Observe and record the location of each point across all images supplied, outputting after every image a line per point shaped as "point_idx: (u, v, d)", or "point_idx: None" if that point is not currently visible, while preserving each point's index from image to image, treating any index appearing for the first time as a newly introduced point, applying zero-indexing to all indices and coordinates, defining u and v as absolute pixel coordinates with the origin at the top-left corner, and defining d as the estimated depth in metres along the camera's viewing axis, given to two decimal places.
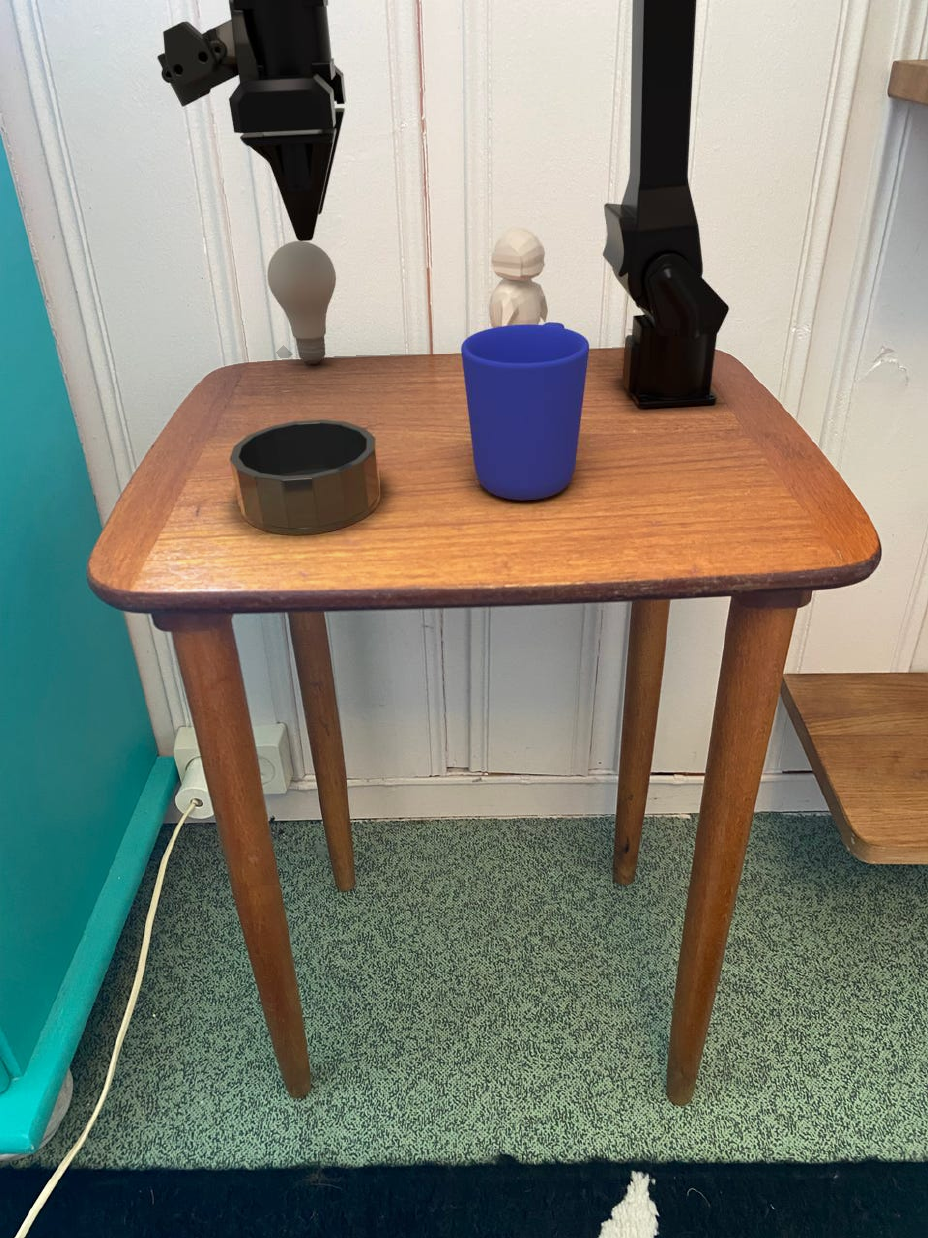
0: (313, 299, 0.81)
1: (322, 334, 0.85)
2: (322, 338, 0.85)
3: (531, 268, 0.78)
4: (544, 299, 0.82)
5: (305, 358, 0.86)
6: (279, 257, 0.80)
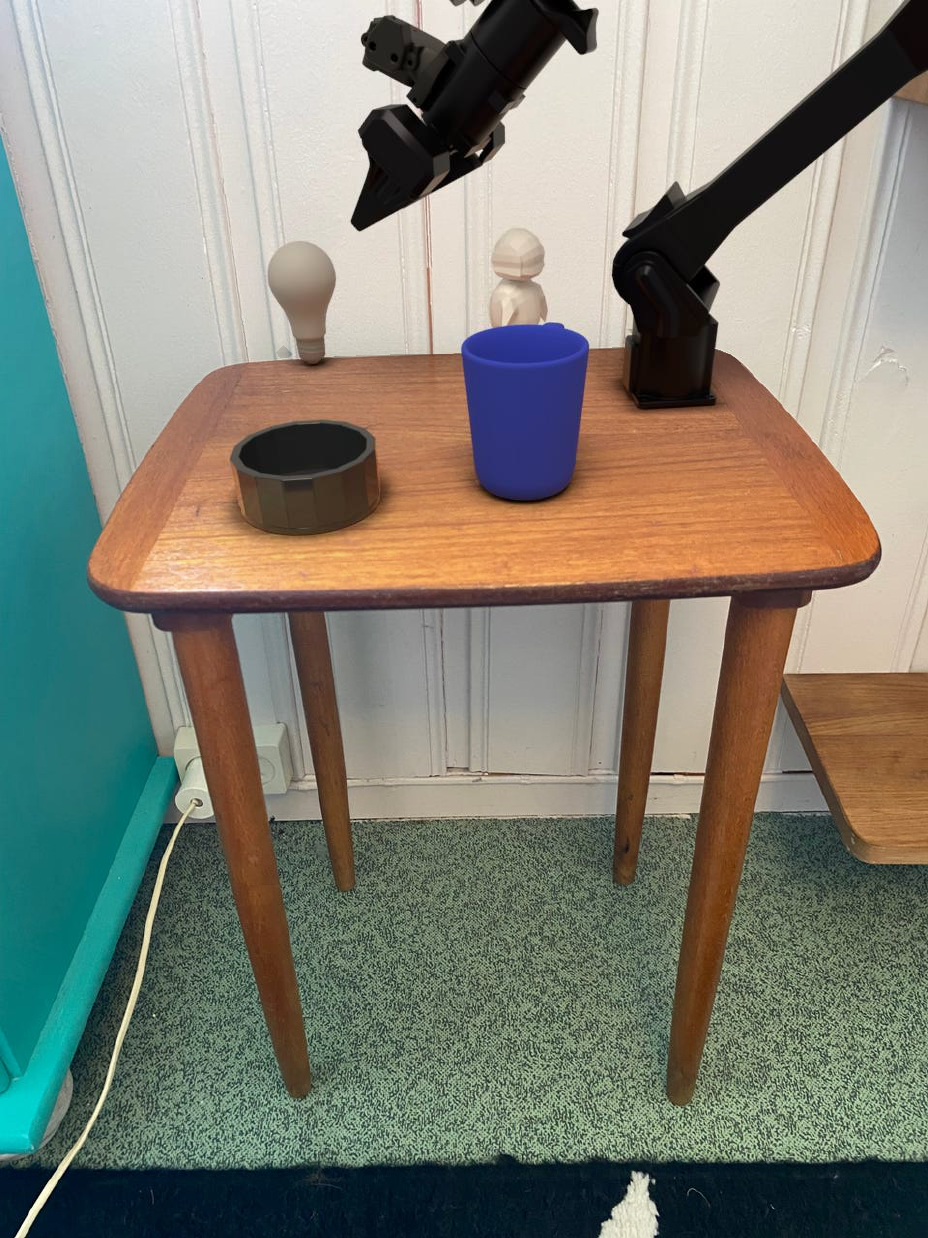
0: (313, 299, 0.81)
1: (322, 334, 0.85)
2: (322, 338, 0.85)
3: (531, 268, 0.78)
4: (544, 299, 0.82)
5: (305, 358, 0.86)
6: (279, 257, 0.80)
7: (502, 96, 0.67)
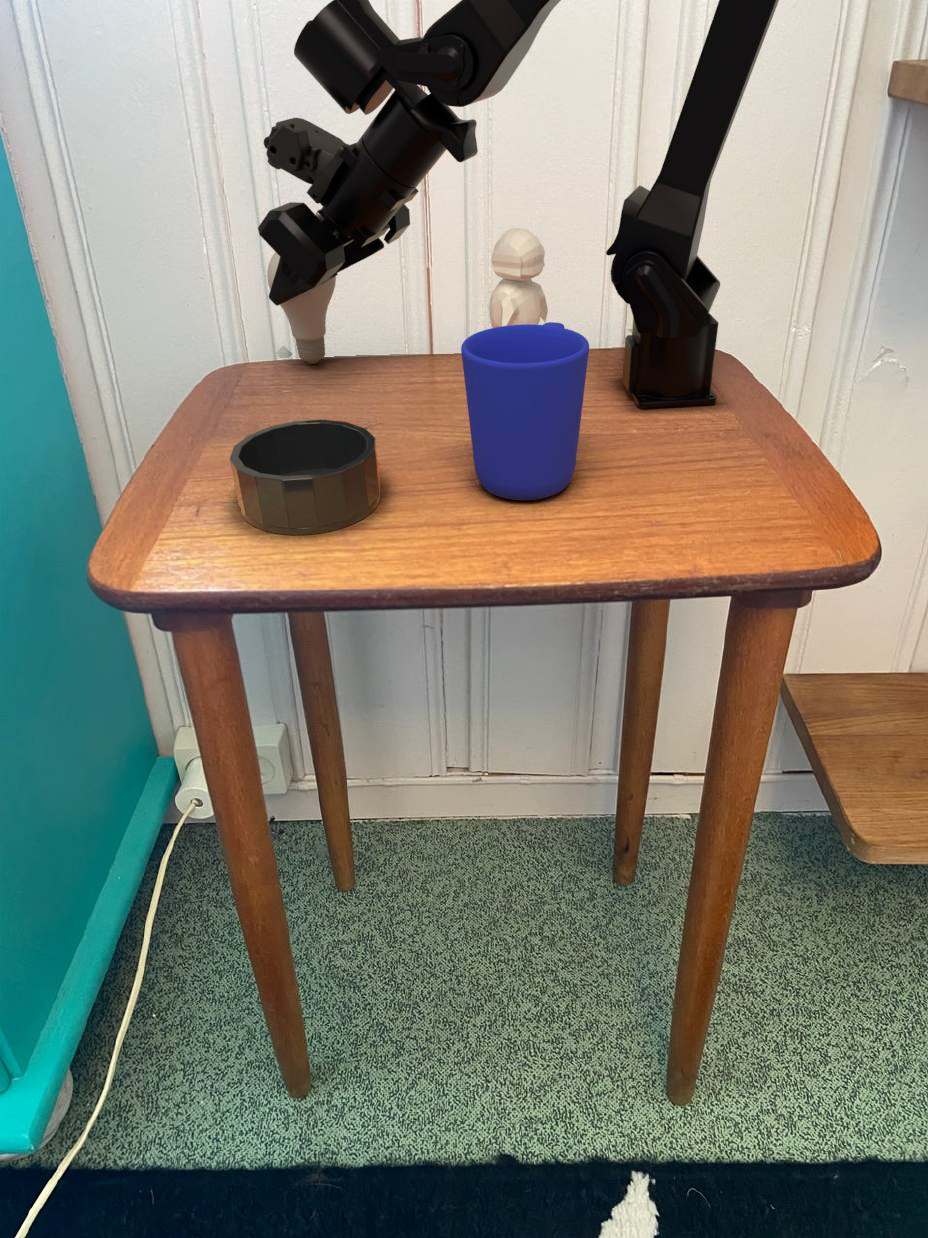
0: (313, 299, 0.81)
1: (322, 334, 0.85)
2: (322, 338, 0.85)
3: (531, 268, 0.78)
4: (544, 299, 0.82)
5: (305, 358, 0.86)
6: (278, 257, 0.80)
7: (391, 196, 0.73)
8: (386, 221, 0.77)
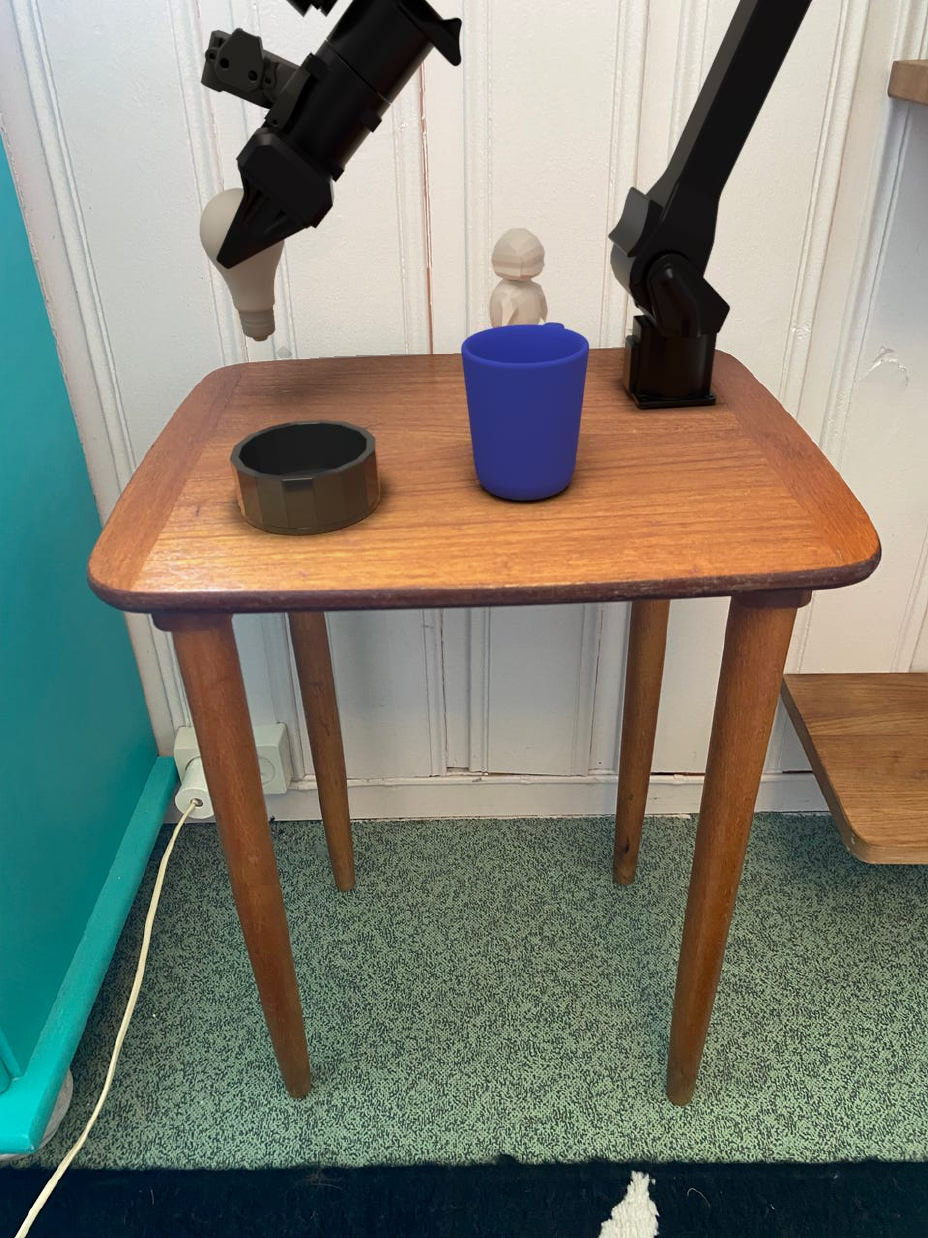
0: (269, 257, 0.66)
1: (274, 302, 0.70)
2: (272, 307, 0.70)
3: (531, 268, 0.78)
4: (544, 299, 0.82)
5: (256, 334, 0.70)
6: (221, 208, 0.64)
7: (375, 113, 0.62)
8: (356, 149, 0.64)
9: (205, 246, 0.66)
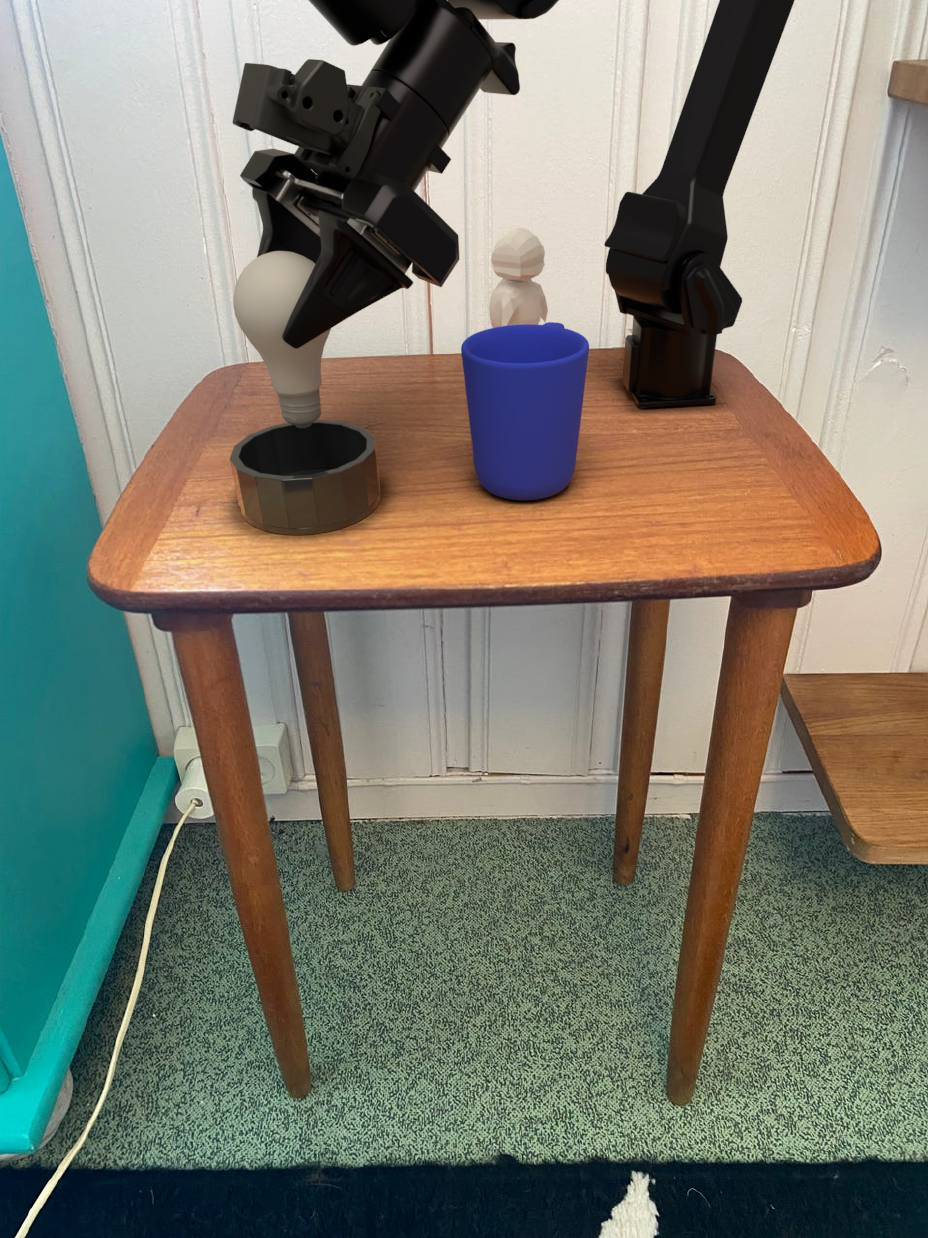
0: None
1: (320, 379, 0.59)
2: None
3: (531, 268, 0.78)
4: (544, 299, 0.82)
5: (309, 420, 0.59)
6: (278, 277, 0.53)
7: None
8: None
9: (256, 325, 0.54)
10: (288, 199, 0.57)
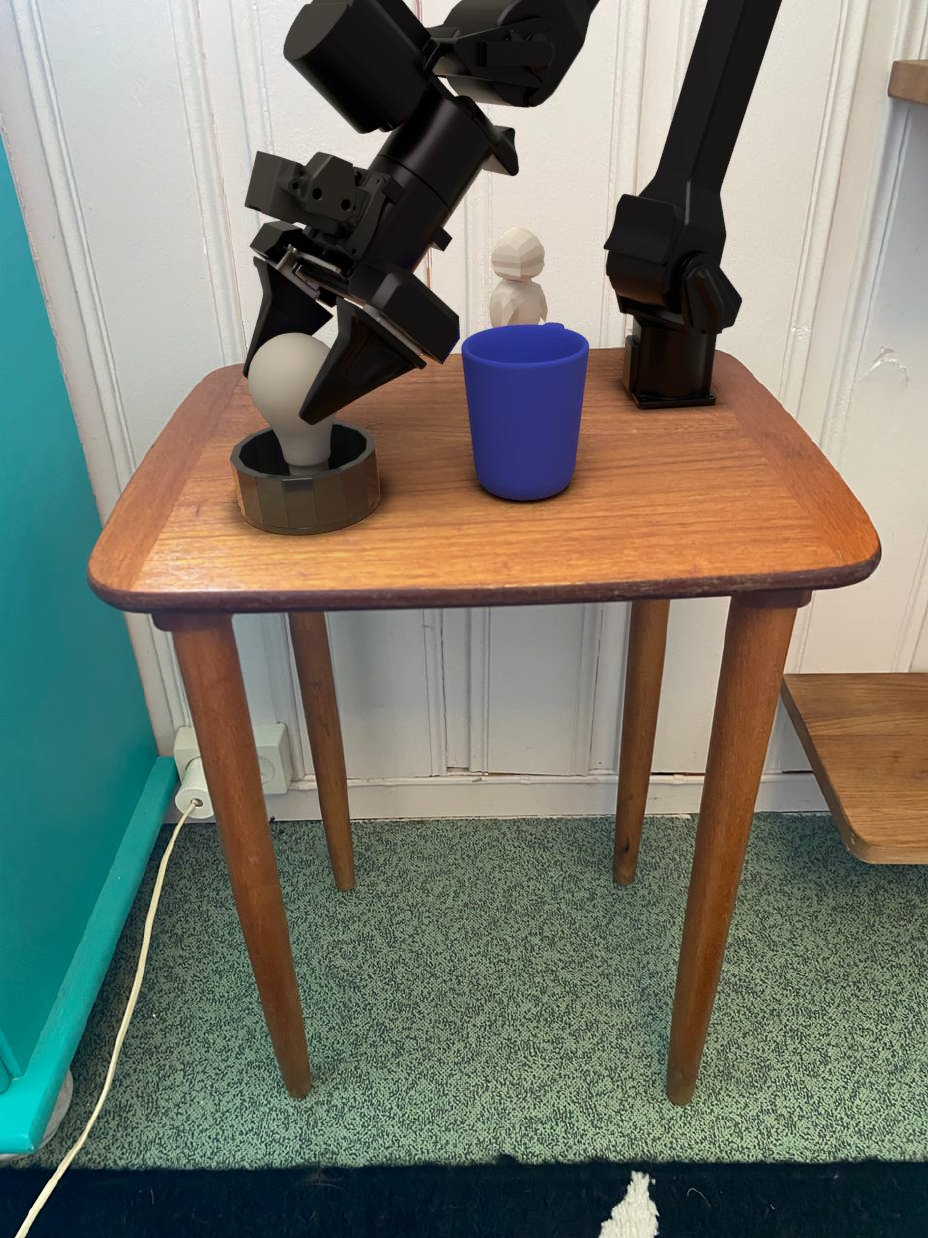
0: None
1: (329, 450, 0.62)
2: None
3: (531, 268, 0.78)
4: (544, 299, 0.82)
5: None
6: (291, 360, 0.55)
7: None
8: None
9: (270, 404, 0.56)
10: (287, 267, 0.60)
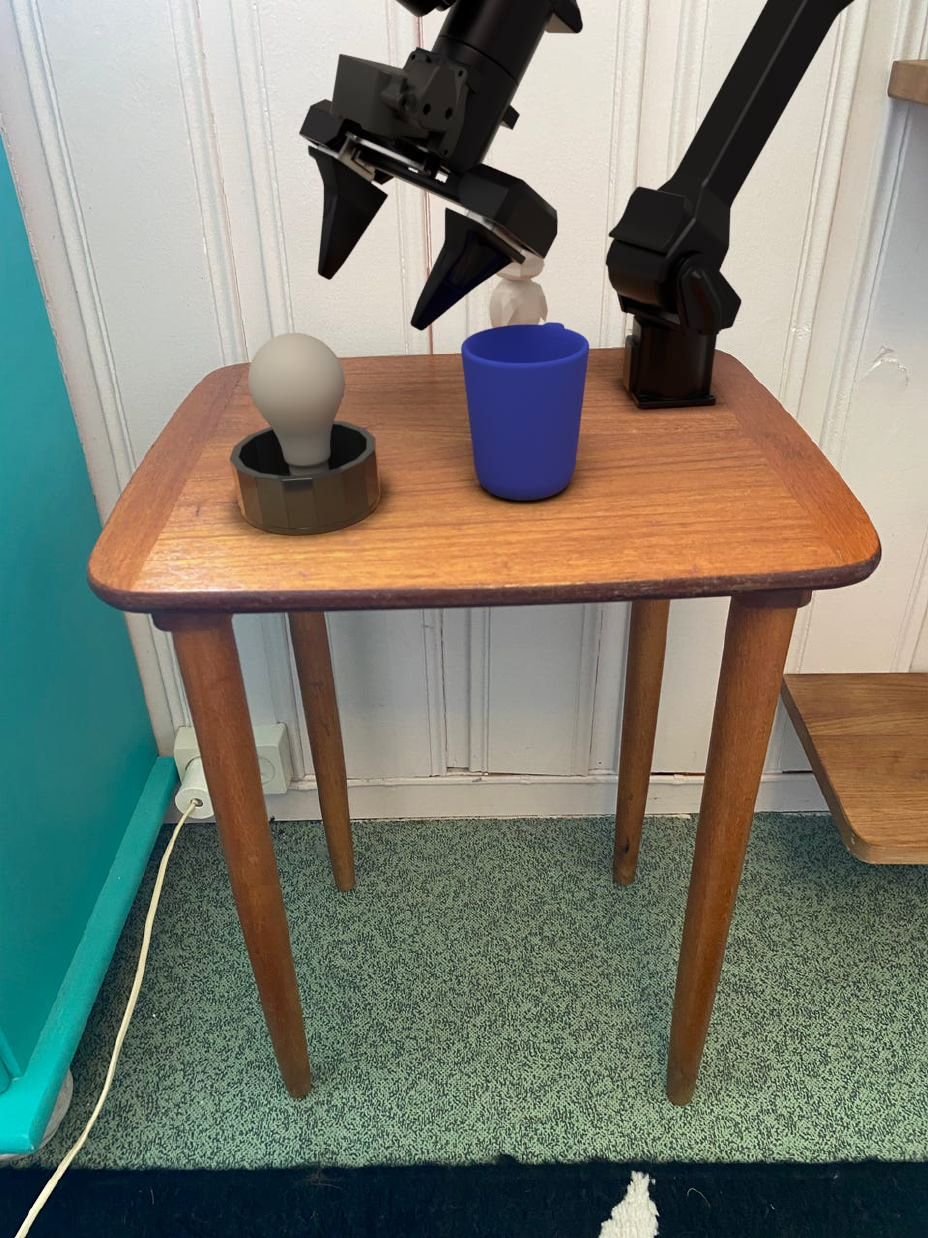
0: (339, 404, 0.59)
1: (329, 450, 0.62)
2: None
3: (531, 268, 0.78)
4: (544, 299, 0.82)
5: None
6: (291, 360, 0.55)
7: None
8: None
9: (270, 404, 0.56)
10: (347, 156, 0.60)
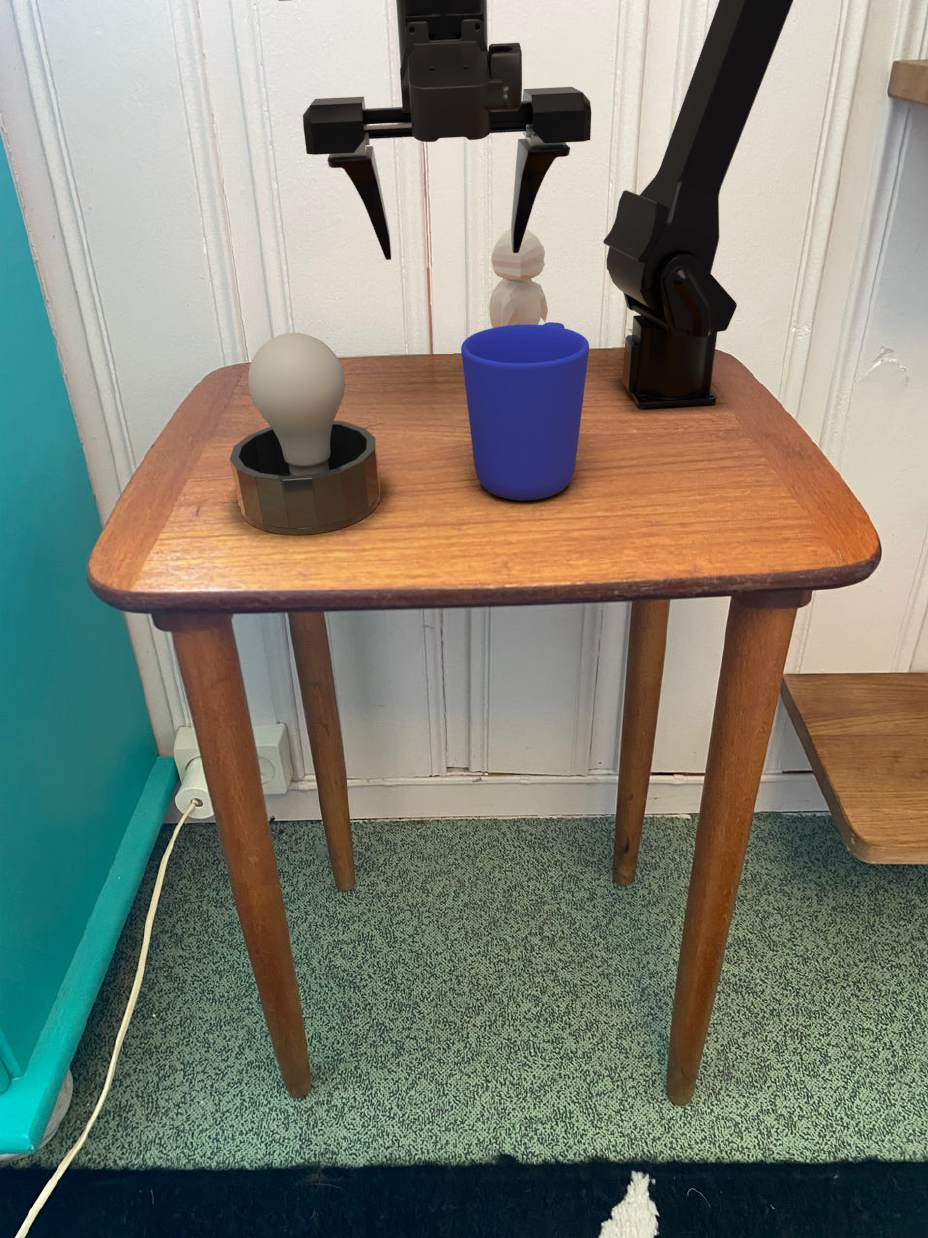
0: (339, 404, 0.59)
1: (329, 450, 0.62)
2: None
3: (531, 268, 0.78)
4: (544, 299, 0.82)
5: None
6: (291, 360, 0.55)
7: None
8: None
9: (270, 404, 0.56)
10: (365, 146, 0.60)
